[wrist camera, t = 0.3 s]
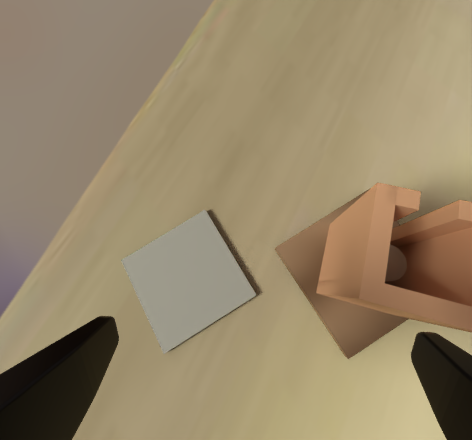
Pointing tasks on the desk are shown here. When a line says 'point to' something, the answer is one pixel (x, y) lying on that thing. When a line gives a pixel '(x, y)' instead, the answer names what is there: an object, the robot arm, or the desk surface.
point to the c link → (415, 251)
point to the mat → (187, 280)
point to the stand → (330, 309)
